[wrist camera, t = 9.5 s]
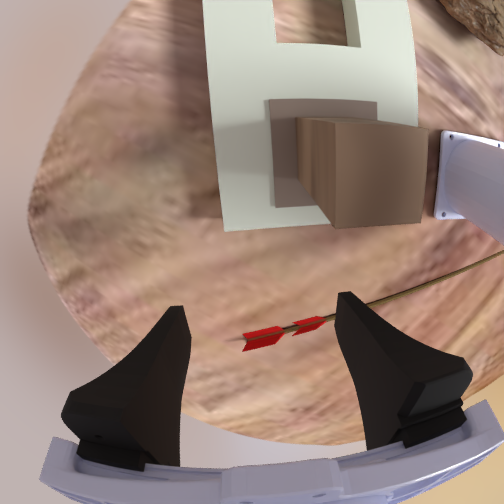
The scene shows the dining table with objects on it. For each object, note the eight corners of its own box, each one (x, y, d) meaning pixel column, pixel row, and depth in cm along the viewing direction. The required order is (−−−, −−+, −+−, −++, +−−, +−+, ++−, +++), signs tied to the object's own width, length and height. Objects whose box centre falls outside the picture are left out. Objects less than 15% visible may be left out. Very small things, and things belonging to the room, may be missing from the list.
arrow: (508, 235, 25) (511, 250, 25) (239, 326, 29) (245, 345, 29) (519, 233, 23) (522, 250, 23) (236, 332, 26) (242, 351, 26)
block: (356, 117, 16) (428, 129, 9) (356, 177, 18) (420, 223, 11) (294, 117, 16) (335, 122, 9) (297, 179, 18) (335, 228, 11)
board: (386, -20, 13) (401, -31, 10) (396, 208, 22) (413, 220, 19) (204, -30, 13) (199, -46, 10) (226, 218, 22) (224, 233, 19)
